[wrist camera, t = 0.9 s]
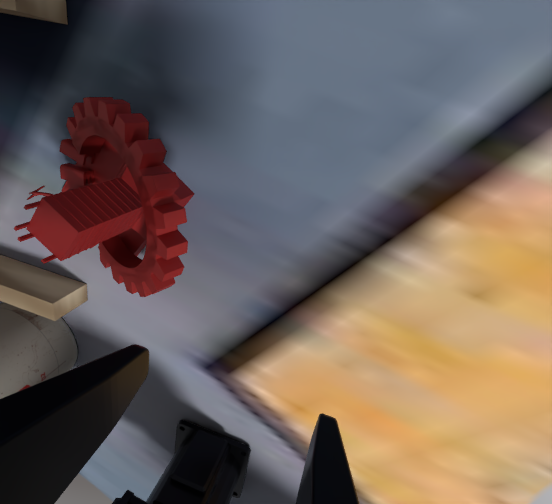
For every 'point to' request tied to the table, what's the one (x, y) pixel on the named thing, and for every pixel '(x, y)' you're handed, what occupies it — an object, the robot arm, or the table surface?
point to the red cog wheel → (115, 198)
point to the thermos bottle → (32, 349)
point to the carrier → (17, 275)
